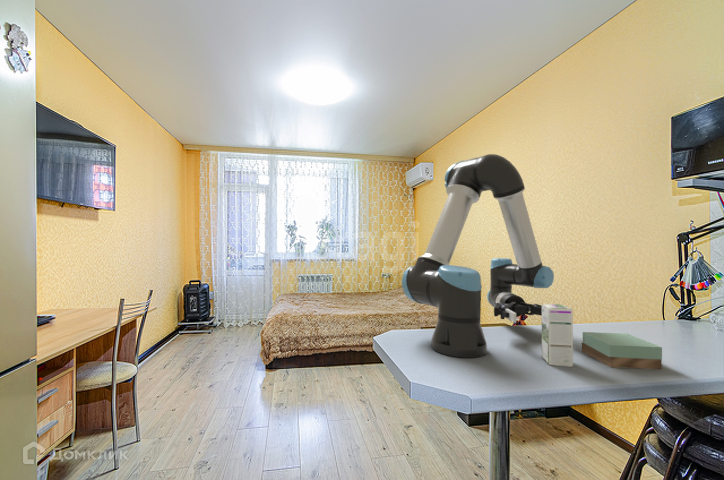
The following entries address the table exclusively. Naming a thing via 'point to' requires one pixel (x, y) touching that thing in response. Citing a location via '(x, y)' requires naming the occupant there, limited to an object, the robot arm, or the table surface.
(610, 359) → the bottom slab
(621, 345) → the top slab
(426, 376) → the table surface
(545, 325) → the syrup box
